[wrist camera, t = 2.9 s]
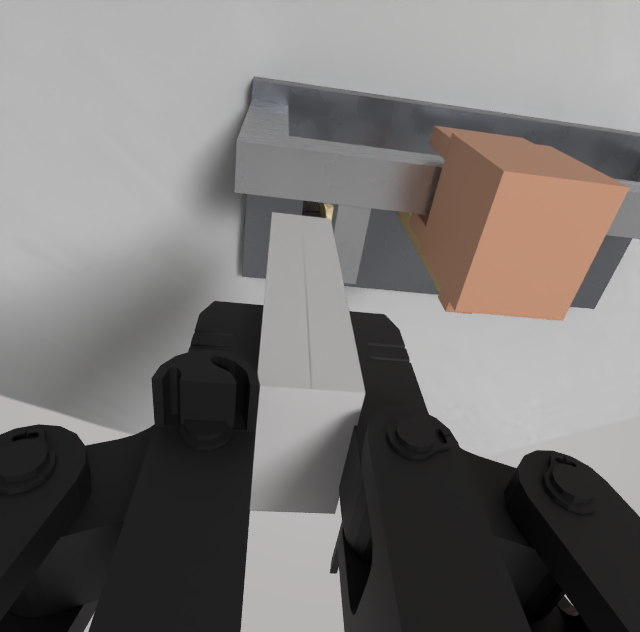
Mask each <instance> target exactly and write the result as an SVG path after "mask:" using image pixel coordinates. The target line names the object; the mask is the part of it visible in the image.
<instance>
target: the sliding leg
mask: <svg viewBox="0 0 640 632" xmlns="http://www.w3.org/2000/svg"><path fill="white" fill-rule="evenodd" d="M430 146H431V147H432V148H433V149H434V150H435V151H436V152H437V153H438V154H439V155H440V156H441V157H442V158H444V159H445V160H444V163H443V167H442V171H441V174H440V178H439V181H438V185H437V189H436V192H435V196H434V199H433V203H432V207H431V210H430V214H429V215H426V214H417V213H409V212H400V211H399V213H398V218H399V219H400V221H401V223H402V225H403V227H404V229H405V231H406V232H407V234H408V236H409V238H410V240H411V242H412V243H413V245H414V247H415V249H416V251H417V253H418V255H419V256H420V258H421V260H422V262H423V264H424V266H425V267H426V269H427V271H428V273H429V275H430V277H431V279H432V280H433V282H434V284H435V286H436V288H437V290H438V291H439V296H438V298H439V300H440V302H441V304H442V306H443V308H444V309H445V311H446V312H456V313H468V314H472V313H482V314H493V315H504V316H516V317H527V318H539V319H550V320H561V321H563V319H564V317H565V315H566V313H567V311H568V309H569V307H570V305H571V303H572V301H573V299H574V297H575V295H576V293H577V291H578V289H579V287H580V285H581V283H582V281H583V279H584V277H585V275H586V273H587V271H588V269H589V268H590V266H591V264H592V262H593V260H594V258H595V256H596V254H597V252H598V250H599V248H600V246H601V244H602V242H603V240H604V238H605V236H606V234H607V232H608V230H609V228H610V226H611V224H612V222H613V220H614V218H615V216H616V214H617V212H618V210H619V208H620V206H621V204H622V202H623V200H624V198H625V196H626V194H627V192H628V190H629V188H630V187H628V186H626V185H624V184H622V183H621V182H619V181H617V180H615V179H613V178H611V177H609V176H607V175H605V174H603V173H601V172H599V171H597V170H595V169H593V168H592V167H590V166H588V165H586V164H584V163H582V162H580V161H578V160H576V159H574V158H572V157H570V156H568V155H566V154H564V153H562V152H561V151H559V150H557V149H555V148H553V147H551V146H545V145H538V144H533V143H532V142H530V141H528V140H526V139H524V138H520V137H513V136H506V135H498V134H491V133H484V132H477V131H470V130H463V129H456V128H448V127H441V126H434V129H433V133H432V137H431V141H430Z"/></svg>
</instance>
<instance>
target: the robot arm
mask: <svg viewBox="0 0 640 632" xmlns="http://www.w3.org/2000/svg"><path fill="white" fill-rule="evenodd" d="M152 391H153V406H154V420H155V424H154V425H153V426H151V427H150V428H148V429H146V430H144V431H142V432H140V433H138V434H136V435H132V436H129V437H126V438H122V439H118V440H112V441H108V442H102V443H98V444H92V445H87V446H85V445H84V444H83V442H82V441H81V440H80V438H79V437H78V435H77V434H76V433H74V432H72V431H69V430H67V429H65V428H63V427H61V426H50V425H33V426H28V427H22V428H16V429H13V430H11V431H8V432H6V433H3V434H1V435H0V632H84V630H85V628H86V626H87V625H88V623H89V621H90V619H91V617H92V616H93V614H94V616H93V620H92V623H91V626H90V629H89V632H240V630H241V618H242V605H243V592H244V578H245V565H246V553H247V539H248V527H249V514H250V511H275V512H305V513H330V514H331V513H332V514H335V511H336V507H337V503H338V500H339V496H340V505H341V514H342V523H341V527H340V531H339V535H338V538H337V542H336V546H335V549H334V553H333V557H332V561H331V569H330V573H337V570H338V567H339V571H340V583H341V596H342V607H343V618H344V630H345V632H640V517H639V516H638V515H637V514H636V512H635V511H634V510H633V509H632V508H631V507H630V506H629V505H628V504H627V503H626V502H625V501H624V500H623V499H622V497H621V496H620V495H619V494H618V493H617V492H616V491H615V490H614V489H613V488H612V487H611V486H610V485H609V483H608V482H607V481H606V480H604V479H603V478H602V477H601V476H600V475H599V474H598V473H596V472H595V471H594V470H593V469H592V468H590V467H589V466H587V465H586V464H584V463H582V462H580V461H578V460H577V459H575V458H573V457H571V456H568V455H565V454H562V453H558V452H555V451H540V450H538V451H534V452H532V453H529V454H527V455H525V456H524V457H523V459H522V461H521V462H520V464H519V466H518V467H517V468H514V467H510V466H508V465H504V464H501V463H498V462H495V461H492V460H489V459H486V458H483V457H479V456H477V455H474V454H472V453H469V452H467V451H465V450H463V449H461V448H460V447H459V444H458V442H457V441H456V439H455V437H454V436H453V434H452V433H451V431H450V429H448V428H447V427H446V426H445V425H444V424H442V423H441V422H440V421H439V420H438V419H437V418H435V417H433V416H431V415H429V414H428V411H427V408H426V405H425V402H424V399H423V396H422V394H421V391H420V388H419V385H418V382H417V379H416V376H415V373H414V371H413V368H412V365H411V363H409V356H408V353H407V350H406V349H405V345H404V342H403V339H402V336H401V333H400V330H399V329H398V328H397V327H396V326H395V325H394V324H393V322H392V321H391V320H390V319H389V318H388V317H387V316H386V315H384V314H373V313H362V312H351V311H349V308H348V303H347V298H346V293H345V288H344V283H343V278H342V273H341V268H340V263H339V258H338V253H337V248H336V243H335V238H334V233H333V228H332V223H331V219H328V218H319V217H311V216H302V215H293V214H284V213H275V212H272V219H271V230H270V241H269V252H268V263H267V274H266V285H265V296H264V305H253V304H242V303H231V302H220V301H214V302H213V303H212V304H210V305H209V306H208V307H207V308H206V309H205V310H204V311H203V312H201V313H200V315H199V318H198V321H197V325H196V328H195V333H194V335H193V338H192V341H191V346H190V348H189V351H188V353H185V354H181V355H178V356H175V357H173V358H172V359H170V360H169V361H167V362H165V363H164V364H162V365H161V366H160V367H159V369H158V370H157V371H156V373H155V374H154V376H153V377H152ZM565 594H566V595H567V597H568V599H569V600H570V601H571V603H572V604H573V606H572V605H571V603H570V602H569V601H568V600H567V599H566V598H565V597H564V595H565ZM94 612H95V613H94Z"/></svg>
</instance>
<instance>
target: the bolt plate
mask: <svg viewBox="0 0 640 632" xmlns="http://www.w3.org/2000/svg"><path fill="white" fill-rule="evenodd" d="M252 100H254V101H261V102H268V103H275V104H283V105H288V118H289V136H293V137H301V138H308V139H316V140H323V141H331V142H339V143H346V144H354V145H361V146H369V147H377V148H384V149H392V150H399V151H407V152H415V153H422V154H430V155H437V156H440V155H439V154H438V153H437V152H436V151H435V150H434V149H433V148H432V147H431V146H430V141H431V137H432V133H433V129H434V126H441V127H448V128H456V129H463V130H470V131H477V132H484V133H491V134H498V135H506V136H513V137H520V138H524V139H526V140H528V141H530V142H532V143H533V144H538V145H545V146H551V147H553V148H555V149H557V150H559V151H561V152H562V153H564V154H566V155H568V156H570V157H572V158H574V159H576V160H578V161H580V162H582V163H584V164H586V165H588V166H590V167H592V168H593V169H595V170H597V171H599V172H601V173H603V174H605V175H607V176H609V177H611V178H613V179H620V180H628V181H633V180H634V178H635V176H636V174H637V172H638V170H639V168H640V133H636V132H629V131H622V130H615V129H609V128H602V127H595V126H588V125H581V124H574V123H568V122H561V121H554V120H547V119H540V118H533V117H527V116H520V115H513V114H506V113H499V112H492V111H486V110H479V109H472V108H465V107H458V106H451V105H445V104H438V103H431V102H424V101H417V100H410V99H404V98H397V97H390V96H383V95H376V94H369V93H363V92H356V91H349V90H342V89H335V88H328V87H322V86H315V85H308V84H301V83H294V82H287V81H281V80H274V79H267V78H260V77H254V79H253V86H252ZM303 202H304V200H295V199H286V198H278V197H269V196H260V195H251V194H247V195H246V214H245V232H244V250H243V268H242V276H243V277H254V278H265V279H266V274H267V263H268V252H269V241H270V230H271V219H272V212H275V213H284V214H293V215H302V216H311V217H319V218H321V213H318V212H309V211H302V210H303ZM398 213H399V211H391V210H382V209H374V208H371V212H370V217H369V222H368V227H367V232H366V236H365V241H364V246H363V251H362V256H361V261H360V266H359V270H358V275H357V280H356V284H349V283H344V286H351V287H362V288H373V289H384V290H395V291H406V292H417V293H428V294H438V295H439V291H438V290H437V288H436V286H435V284H434V282H433V280H432V279H431V277H430V275H429V273H428V271H427V269H426V267H425V266H424V264H423V262H422V260H421V258H420V256H419V255H418V253H417V251H416V249H415V247H414V245H413V243H412V242H411V240H410V238H409V236H408V234H407V232H406V231H405V229H404V227H403V225H402V223H401V221H400V219H399V218H398ZM631 240H632V238H627V237H618V236H610V235H606V236H605V238H604V240H603V242H602V244H601V246H600V248H599V250H598V252H597V254H596V256H595V258H594V260H593V262H592V264H591V266H590V268H589V269H588V271H587V273H586V275H585V277H584V279H583V281H582V283H581V285H580V287H579V289H578V291H577V293H576V295H575V297H574V299H573V301H572V303H571V305H570V307H580V308H591V309H594V308H595V307H596V305H597V303H598V301H599V299H600V297H601V295H602V294H603V292H604V290H605V288H606V286H607V284H608V283H609V281H610V279H611V277H612V275H613V273H614V271H615V270H616V268H617V266H618V264H619V262H620V260H621V258H622V257H623V255H624V253H625V251H626V249H627V247H628V246H629V244H630V242H631Z"/></svg>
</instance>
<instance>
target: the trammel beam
mask: <svg viewBox="0 0 640 632" xmlns="http://www.w3.org/2000/svg"><path fill="white" fill-rule="evenodd" d="M444 160H445V159H444V158H442V157H441V156H437V155H430V154H422V153H415V152H407V151H399V150H392V149H384V148H377V147H369V146H361V145H354V144H346V143H339V142H331V141H323V140H316V139H308V138H301V137H293V136H289V118H288V105H283V104H275V103H268V102H261V101H254V100H252V101H251V104H250V106H249V109H248V112H247V114H246V117H245V120H244V122H243V125H242V128H241V130H240V133H239V136H238V138H237V142H236V166H235V191H234V193H243V194H251V195H260V196H269V197H278V198H286V199H295V200H304V201H313V202H319V208H320V213H321V218H328V219H331V223H332V228H333V233H334V238H335V243H336V248H337V253H338V258H339V263H340V268H341V273H342V278H343V283H349V284H356V280H357V275H358V270H359V266H360V261H361V256H362V251H363V246H364V241H365V236H366V232H367V227H368V222H369V217H370V212H371V208H374V209H382V210H391V211H400V212H409V213H417V214H426V215H429V214H430V210H431V207H432V203H433V199H434V196H435V192H436V189H437V185H438V181H439V178H440V174H441V171H442V167H443V163H444ZM615 180H617V181H619V182H621V183H622V184H624V185H626V186H628V187H630V188H629V190H628V192H627V194H626V196H625V198H624V200H623V202H622V204H621V206H620V208H619V210H618V212H617V214H616V216H615V218H614V220H613V222H612V224H611V226H610V228H609V230H608V232H607V234H606V235H610V236H618V237H627V238H636V239H640V168H639V170H638V172H637V174H636V176H635V178H634V180H633V181H628V180H620V179H615Z"/></svg>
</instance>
